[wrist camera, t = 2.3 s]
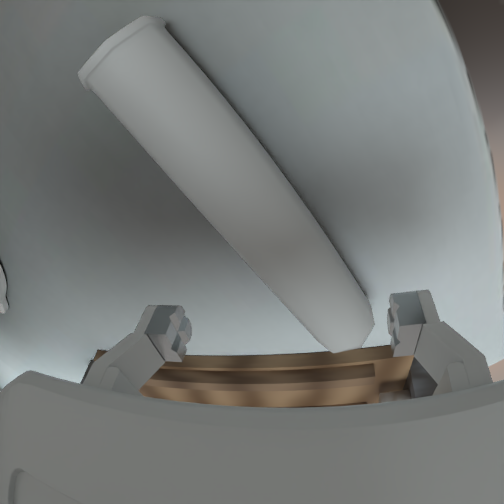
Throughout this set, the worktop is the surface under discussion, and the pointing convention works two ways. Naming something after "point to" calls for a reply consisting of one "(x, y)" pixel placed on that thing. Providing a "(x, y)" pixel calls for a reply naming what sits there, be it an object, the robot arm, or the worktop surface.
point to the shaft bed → (291, 379)
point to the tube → (227, 177)
